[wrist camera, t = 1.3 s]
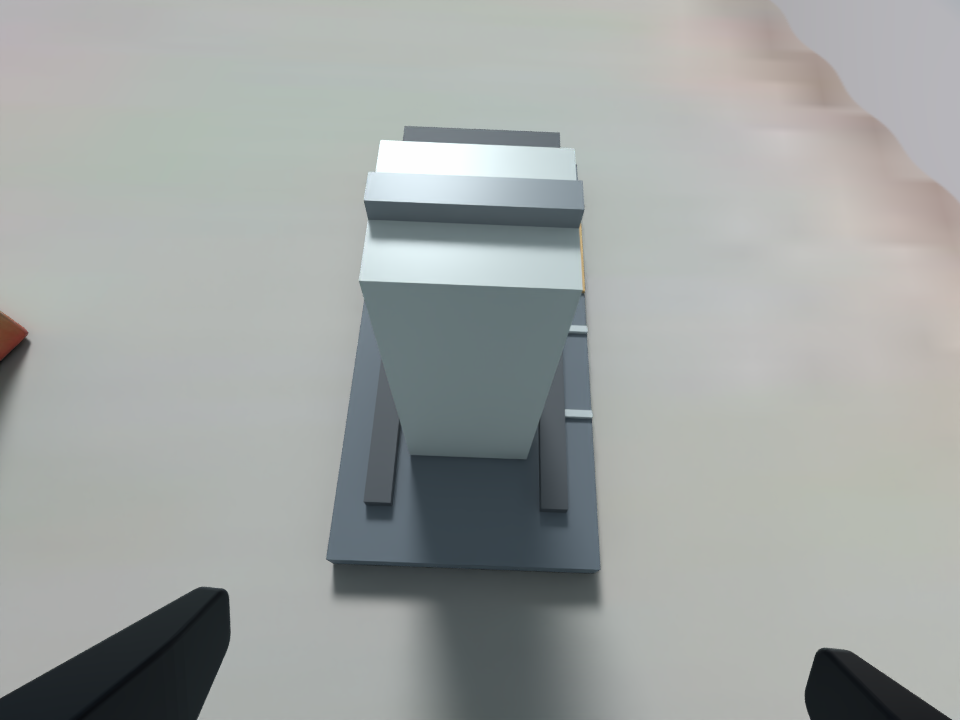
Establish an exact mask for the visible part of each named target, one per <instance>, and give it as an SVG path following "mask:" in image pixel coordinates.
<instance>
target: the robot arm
mask: <svg viewBox="0 0 960 720" xmlns="http://www.w3.org/2000/svg"><path fill="white" fill-rule="evenodd" d="M230 634H231V630H230V606H229V595H228V592H227V591H226V590H225V589H222V588H212V587H199V588H197V589H194V590H193V591H191V592H189V593H187V594H185V595H184V596H182V597H180V598H178V599H177V600H175V601H173V602H171V603H169V604H168V605H166V606H164V607H162V608H161V609H159V610H157V611H155V612H153V613H152V614H150V615H148V616H146V617H144V618H143V619H141V620H139V621H137V622H136V623H134V624H132V625H130V626H128V627H127V628H125V629H123V630H121V631H120V632H118V633H116V634H114V635H112V636H111V637H109V638H107V639H105V640H103V641H102V642H100V643H98V644H96V645H95V646H93V647H91V648H89V649H87V650H86V651H84V652H82V653H80V654H79V655H77V656H75V657H73V658H71V659H70V660H68V661H66V662H64V663H63V664H61V665H59V666H57V667H55V668H54V669H52V670H50V671H48V672H46V673H45V674H43V675H41V676H39V677H38V678H36V679H34V680H32V681H30V682H29V683H27V684H25V685H23V686H22V687H20V688H18V689H16V690H14V691H13V692H11V693H9V694H7V695H5V696H4V697H2V698H0V720H197V718H198V716H199V714H200V711H201V709H202V707H203V704H204V702H205V700H206V698H207V695H208V693H209V691H210V688H211V686H212V684H213V681H214V679H215V677H216V675H217V672H218V670H219V668H220V665H221V663H222V661H223V658H224V656H225V654H226V651H227V649H228V646H229V642H230ZM805 704H806V708H807V711H808V714H809V717H810V719H811V720H952V719H950V718H949V717H947V716H946V715H944V714H943V713H941V712H940V711H938V710H937V709H935V708H934V707H932V706H931V705H929V704H928V703H926V702H925V701H924V700H922V699H921V698H919V697H918V696H916V695H915V694H913V693H912V692H910V691H909V690H907V689H906V688H904V687H903V686H901V685H900V684H898V683H897V682H895V681H894V680H893V679H891V678H890V677H888V676H887V675H885V674H884V673H882V672H881V671H879V670H878V669H876V668H875V667H873V666H872V665H870V664H869V663H867V662H866V661H864V660H863V659H862V658H860V657H859V656H857V655H856V654H854V653H852V652H851V651H848V650H844V649H833V648H821V649H819V650H818V651H817V652H816V655H815V657H814V661H813V664H812V668H811V671H810V675H809V678H808V682H807V685H806V688H805Z"/></svg>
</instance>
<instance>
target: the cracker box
mask: <svg viewBox="0 0 960 720" xmlns="http://www.w3.org/2000/svg"><path fill="white" fill-rule="evenodd" d="M27 335H28V332H27V330H26V329H25V328H24V327H22V326H21V325H19V324H18V323H17V322H15V321H14V320H12V319H11V318H10V317H8V316H7V315H5V314H4V313H3V312H1V311H0V361H1V360H2V359H3V358H4V357H5V356H6V355H7V354H8V353H9V352H10V351H11V350H12V349H14V348H15V347H16V346H17V345H18V344H19V343H20V342H21V341H22V340H23V339H24V338H25V337H26V336H27Z"/></svg>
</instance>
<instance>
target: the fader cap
mask: <svg viewBox="0 0 960 720" xmlns="http://www.w3.org/2000/svg"><path fill="white" fill-rule="evenodd" d="M364 203H365V207H366V212H367V216H368V225H367V231H366V238H365V244H364V250H363V257H362V263H361V270H360V276H359V283H360V286H361V290H362V293H363V297H364V300H365V303H366V307H367V310H368V314H369V317H370V321H371V324H372V327H373V331H374V334H375V338H376V341H377V344H378V348H379V351H380V355H381V358H382V362H383V365H384V368H385V372H386V375H387V379H388V382H389V385H390V389H391V392H392V396H393V399H394V402H395V406H396V409H397V413H398V416H399V420H400V423H401V426H402V430H403V433H404V437H405V440H406V443H407V447H408V450H409V454H410V455H425V456H450V457H476V458H502V459H527V456H528V453H529V450H530V447H531V444H532V441H533V438H534V435H535V432H536V429H537V426H538V423H539V420H540V417H541V414H542V411H543V408H544V405H545V402H546V399H547V396H548V393H549V390H550V387H551V384H552V381H553V378H554V375H555V372H556V369H557V366H558V363H559V360H560V357H561V354H562V351H563V348H564V345H565V342H566V339H567V336H568V333H569V330H570V327H571V324H572V321H573V318H574V315H575V312H576V309H577V306H578V302H579V299H580V296H581V293H582V290H583V286H582V269H581V251H580V234H579V227H580V224H581V220H582V216H583V213H584V196H583V181H578V180H576V164H575V148H553V147H530V146H506V145H482V144H459V143H435V142H411V141H388V140H381V141H380V147H379V154H378V160H377V166H376V172H368V178H367V184H366V190H365V196H364Z"/></svg>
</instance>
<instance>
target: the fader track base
mask: <svg viewBox="0 0 960 720" xmlns="http://www.w3.org/2000/svg"><path fill="white" fill-rule="evenodd" d="M403 141H411V142H435V143H459V144H482V145H506V146H530V147H553V148H560V133H555V132H532V131H508V130H485V129H461V128H437V127H414V126H405V128H404V136H403ZM576 180H578V177H577V164H576ZM579 234H580V251H581V269H582V286H583V290H582V293H581V296H580V299H579V302H578V306H577V309H576V312H575V315H574V318H573V321H572V324H571V327H570V330H569V333H568V336H567V339H566V342H565V345H564V348H563V351H562V354H561V357H560V360H559V363H558V366H557V369H556V372H555V375H554V378H553V381H552V384H551V387H550V390H549V393H548V396H547V399H546V402H545V405H544V408H543V411H542V414H541V417H540V420H539V423H538V426H537V429H536V432H535V435H534V438H533V441H532V444H531V447H530V450H529V453H528V456H527V459H502V458H476V457H450V456H425V455H410V454H409V450H408V447H407V443H406V440H405V437H404V433H403V430H402V426H401V423H400V420H399V416H398V413H397V409H396V406H395V402H394V399H393V396H392V392H391V389H390V385H389V382H388V379H387V375H386V372H385V368H384V365H383V362H382V358H381V355H380V351H379V348H378V344H377V341H376V338H375V334H374V331H373V327H372V324H371V321H370V317H369V314H368V310H367V307H366V303H365V300H364V305H363V312H362V319H361V326H360V333H359V339H358V346H357V353H356V360H355V367H354V373H353V380H352V387H351V394H350V401H349V407H348V414H347V421H346V428H345V435H344V441H343V448H342V455H341V462H340V469H339V475H338V482H337V489H336V496H335V503H334V509H333V516H332V523H331V530H330V537H329V544H328V550H327V557H326V560H328V561H330V562H331V563H333V564H359V565H386V566H412V567H439V568H465V569H492V570H518V571H544V572H571V573H595V572H597V571H599V570H600V553H599V536H598V519H597V502H596V485H595V467H594V450H593V433H592V417H593V415H592V410H591V399H590V382H589V365H588V348H587V332H588V331H587V326H586V314H585V297H584V293H585V280H584V263H583V247H582V230H581V224H580V227H579Z"/></svg>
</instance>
